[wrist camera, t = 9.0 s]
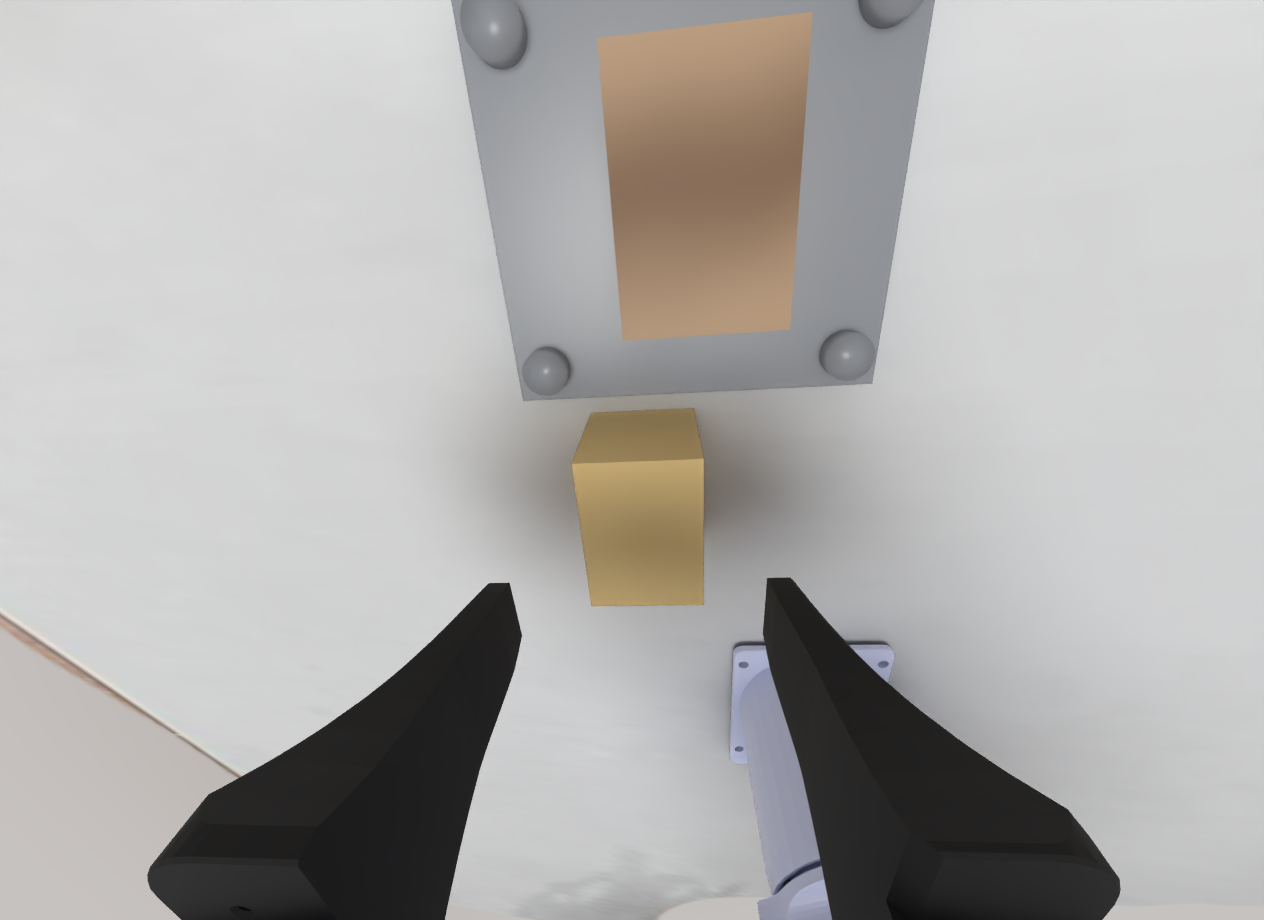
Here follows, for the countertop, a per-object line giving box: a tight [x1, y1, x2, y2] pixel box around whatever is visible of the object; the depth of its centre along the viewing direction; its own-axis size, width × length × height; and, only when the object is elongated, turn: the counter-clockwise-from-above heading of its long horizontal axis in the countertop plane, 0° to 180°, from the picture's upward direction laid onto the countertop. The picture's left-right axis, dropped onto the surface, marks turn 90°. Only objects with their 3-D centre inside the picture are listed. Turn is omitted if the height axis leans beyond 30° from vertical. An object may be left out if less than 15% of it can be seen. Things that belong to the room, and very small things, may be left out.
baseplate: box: [451, 0, 935, 401], centre depth 15 cm, size 12×13×2 cm
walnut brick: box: [597, 12, 813, 341], centre depth 12 cm, size 6×4×5 cm
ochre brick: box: [572, 408, 704, 606], centre depth 18 cm, size 6×4×5 cm
